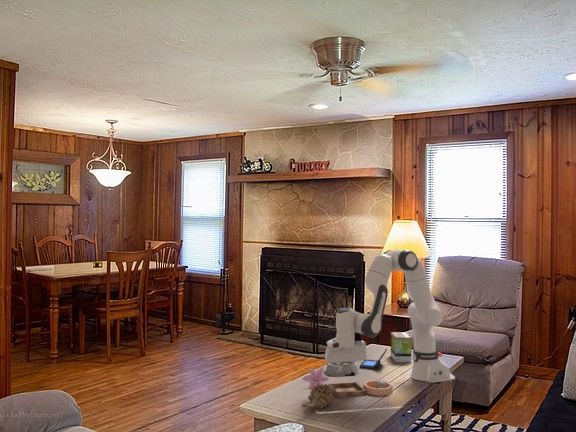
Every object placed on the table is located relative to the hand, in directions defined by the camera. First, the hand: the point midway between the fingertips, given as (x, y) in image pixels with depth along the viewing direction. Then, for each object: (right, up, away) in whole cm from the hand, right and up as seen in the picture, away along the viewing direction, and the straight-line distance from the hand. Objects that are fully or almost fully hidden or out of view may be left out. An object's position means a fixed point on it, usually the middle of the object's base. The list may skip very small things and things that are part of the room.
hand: (346, 370), depth 253 cm
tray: (0, -10, -3) cm, 10 cm away
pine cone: (-16, -10, -26) cm, 32 cm away
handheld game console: (+20, -11, +44) cm, 50 cm away
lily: (-14, -10, +4) cm, 18 cm away
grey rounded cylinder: (+17, -9, -2) cm, 19 cm away
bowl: (+15, -10, -2) cm, 18 cm away
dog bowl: (+1, -11, +32) cm, 34 cm away
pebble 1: (0, -1, 0) cm, 1 cm away
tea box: (+39, -11, +59) cm, 72 cm away
